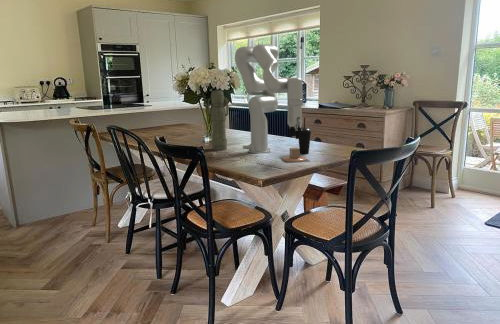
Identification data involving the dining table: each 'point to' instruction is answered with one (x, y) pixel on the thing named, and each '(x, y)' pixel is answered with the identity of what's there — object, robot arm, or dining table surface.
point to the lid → (294, 156)
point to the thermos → (218, 120)
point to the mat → (294, 162)
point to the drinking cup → (305, 140)
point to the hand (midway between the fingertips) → (295, 137)
